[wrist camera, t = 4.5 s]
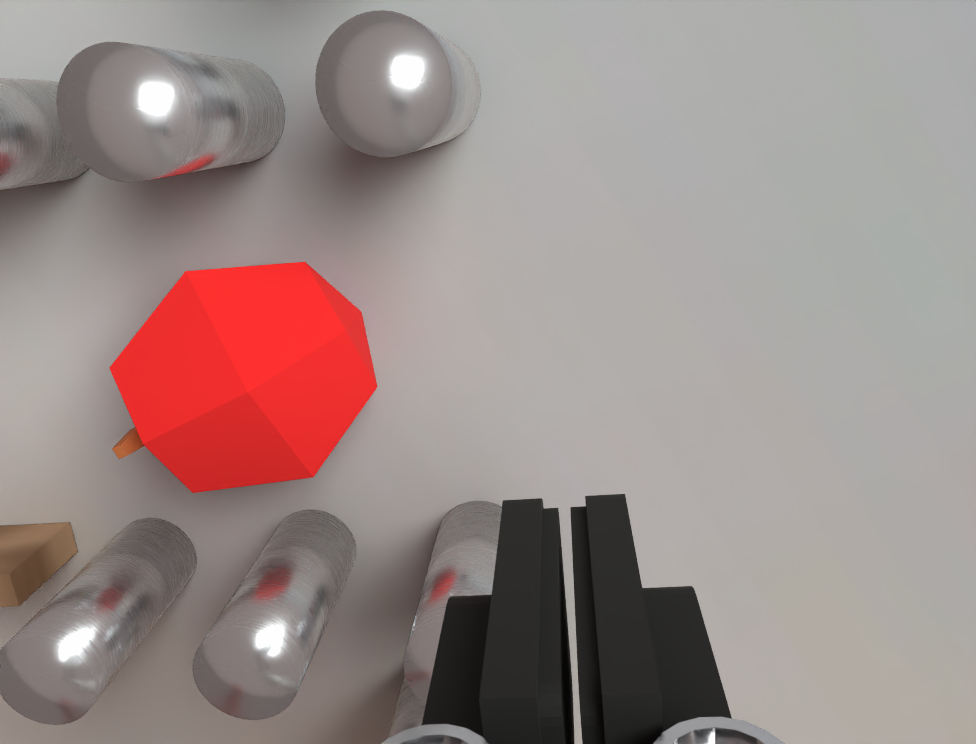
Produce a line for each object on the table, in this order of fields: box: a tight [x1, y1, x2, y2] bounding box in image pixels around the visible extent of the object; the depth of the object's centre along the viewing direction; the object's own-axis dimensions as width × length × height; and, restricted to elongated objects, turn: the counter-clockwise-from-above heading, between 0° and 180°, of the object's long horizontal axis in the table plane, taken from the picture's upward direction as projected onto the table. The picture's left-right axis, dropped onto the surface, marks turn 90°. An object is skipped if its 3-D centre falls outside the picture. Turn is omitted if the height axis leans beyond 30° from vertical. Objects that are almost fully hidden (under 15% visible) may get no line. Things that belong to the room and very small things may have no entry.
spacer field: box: [0, 11, 502, 738], centre depth 24 cm, size 15×30×7 cm, turn 6°
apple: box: [110, 262, 377, 493], centre depth 24 cm, size 7×7×8 cm
